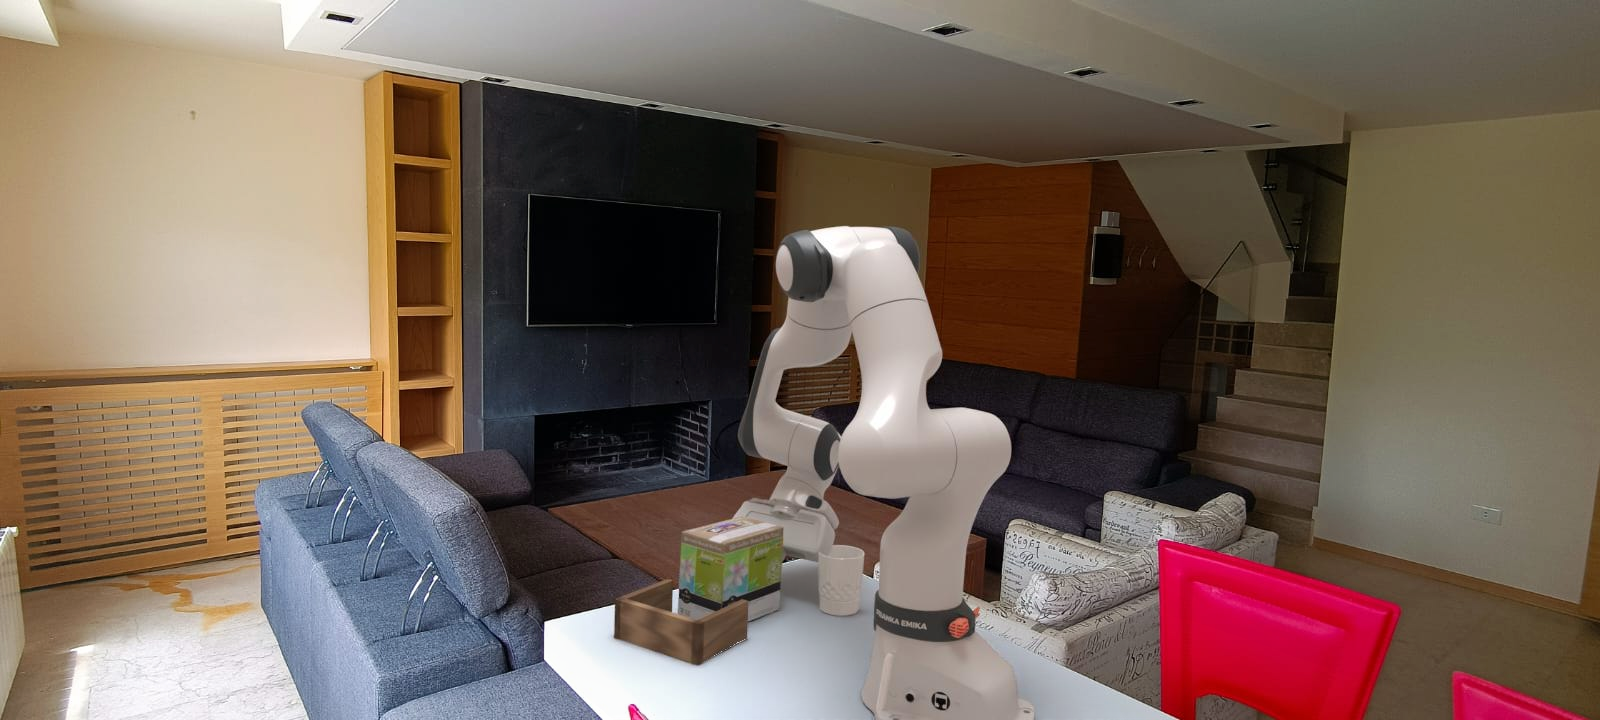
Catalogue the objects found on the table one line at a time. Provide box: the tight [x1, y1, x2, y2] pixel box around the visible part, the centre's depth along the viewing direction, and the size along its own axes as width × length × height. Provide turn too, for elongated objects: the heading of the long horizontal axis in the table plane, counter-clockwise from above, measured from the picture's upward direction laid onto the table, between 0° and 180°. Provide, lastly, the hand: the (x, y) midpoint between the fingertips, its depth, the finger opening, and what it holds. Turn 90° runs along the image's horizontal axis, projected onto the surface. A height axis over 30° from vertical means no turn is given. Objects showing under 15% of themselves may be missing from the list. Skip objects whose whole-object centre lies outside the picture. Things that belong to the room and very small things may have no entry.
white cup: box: [817, 544, 865, 617], centre depth 148 cm, size 8×8×10 cm
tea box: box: [677, 516, 784, 622], centre depth 144 cm, size 15×10×15 cm, turn 143°
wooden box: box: [613, 578, 749, 666], centre depth 134 cm, size 16×12×6 cm
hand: (760, 571), depth 151 cm, fingers closed
